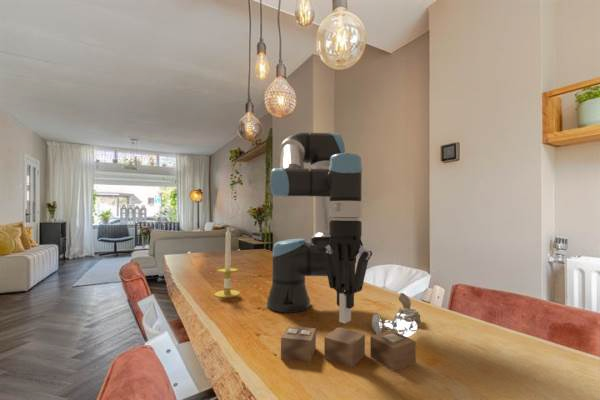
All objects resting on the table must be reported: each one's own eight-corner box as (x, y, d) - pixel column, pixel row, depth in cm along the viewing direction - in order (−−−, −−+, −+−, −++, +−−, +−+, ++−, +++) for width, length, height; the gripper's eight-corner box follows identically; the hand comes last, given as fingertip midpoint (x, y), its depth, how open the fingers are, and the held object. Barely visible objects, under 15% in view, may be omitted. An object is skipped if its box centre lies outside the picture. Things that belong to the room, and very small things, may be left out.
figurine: (371, 310, 90) (414, 307, 86) (375, 332, 89) (418, 330, 85) (368, 319, 81) (415, 316, 78) (372, 344, 80) (420, 342, 77)
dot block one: (370, 358, 70) (370, 334, 70) (391, 351, 74) (391, 329, 74) (393, 372, 64) (393, 346, 64) (415, 363, 68) (415, 339, 68)
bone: (418, 325, 85) (401, 291, 90) (399, 332, 89) (383, 299, 93) (428, 319, 92) (412, 288, 96) (410, 326, 95) (395, 295, 99)
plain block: (324, 359, 69) (324, 337, 70) (338, 347, 75) (338, 327, 75) (352, 368, 66) (352, 345, 66) (364, 355, 71) (364, 334, 72)
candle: (236, 297, 116) (237, 227, 117) (210, 297, 116) (212, 227, 117) (242, 290, 126) (243, 226, 127) (218, 290, 126) (219, 225, 127)
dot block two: (280, 359, 69) (281, 336, 69) (288, 346, 76) (288, 324, 76) (310, 363, 68) (311, 339, 68) (315, 349, 75) (315, 327, 75)
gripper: (313, 219, 73) (313, 318, 72) (361, 220, 64) (362, 333, 63) (331, 218, 78) (331, 311, 77) (378, 219, 70) (378, 323, 69)
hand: (345, 320), depth 70 cm, fingers closed
